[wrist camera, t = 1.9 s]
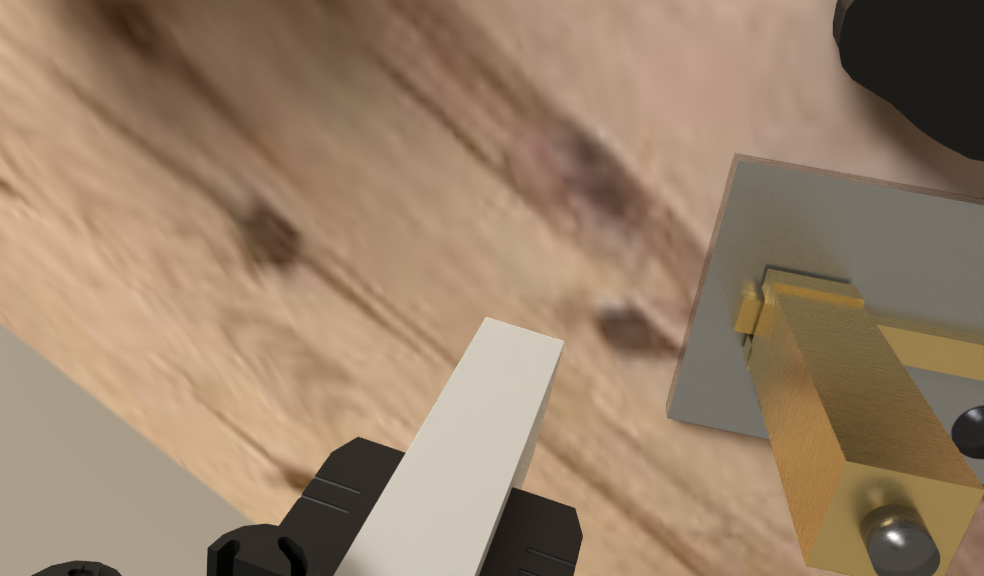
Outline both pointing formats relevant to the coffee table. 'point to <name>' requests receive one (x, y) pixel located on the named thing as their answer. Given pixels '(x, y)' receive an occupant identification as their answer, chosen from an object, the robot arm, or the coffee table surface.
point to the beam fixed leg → (897, 340)
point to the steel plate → (841, 258)
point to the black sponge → (920, 63)
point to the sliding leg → (854, 436)
